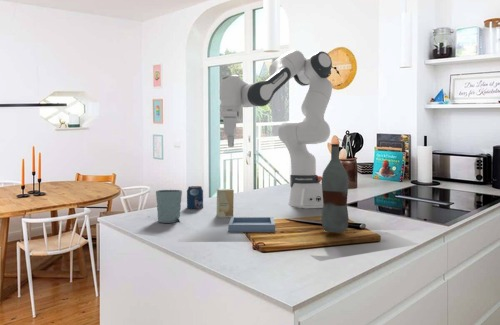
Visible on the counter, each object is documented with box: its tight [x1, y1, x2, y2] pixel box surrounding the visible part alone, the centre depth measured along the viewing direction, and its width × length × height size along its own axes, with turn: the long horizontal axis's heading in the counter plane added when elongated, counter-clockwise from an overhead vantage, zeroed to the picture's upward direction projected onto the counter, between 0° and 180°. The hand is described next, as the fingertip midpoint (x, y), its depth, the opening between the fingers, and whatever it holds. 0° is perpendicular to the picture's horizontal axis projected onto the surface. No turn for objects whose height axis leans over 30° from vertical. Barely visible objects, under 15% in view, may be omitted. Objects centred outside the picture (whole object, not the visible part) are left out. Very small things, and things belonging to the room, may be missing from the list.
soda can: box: [186, 185, 204, 211], centre depth 187 cm, size 7×7×12 cm
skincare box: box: [216, 188, 235, 219], centre depth 174 cm, size 6×4×12 cm
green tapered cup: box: [155, 189, 183, 224], centre depth 172 cm, size 10×10×12 cm
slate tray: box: [227, 216, 276, 233], centre depth 156 cm, size 16×16×2 cm
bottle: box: [321, 143, 350, 233], centre depth 150 cm, size 9×9×30 cm
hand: (230, 146), depth 182 cm, fingers open, 8 cm apart
